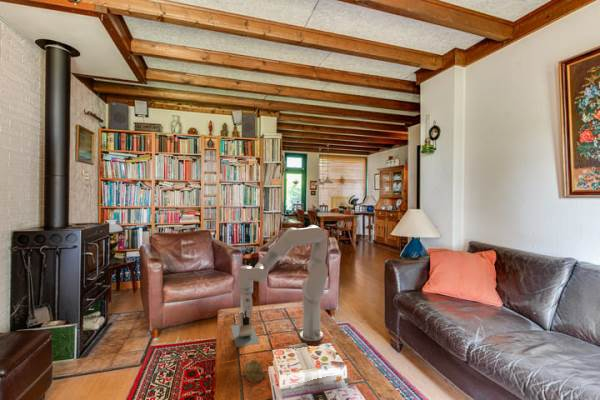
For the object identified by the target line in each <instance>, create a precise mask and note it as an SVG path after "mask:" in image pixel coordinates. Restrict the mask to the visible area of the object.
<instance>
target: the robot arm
mask: <svg viewBox="0 0 600 400" xmlns="http://www.w3.org/2000/svg"><path fill="white" fill-rule="evenodd" d="M305 245H311V250H310V255H309V259H308V263H307V271H308V276H307V277H305V278H304V280H303V281H302V283H301V291H302V292H301V295H302V331H300V332H299V337H300V339H302V340H303V341H307V342H316V341H320V340H322V339H323V337H324V333H323V331H322V330H321V298H323V296H324V292H325V288H326V283H327V280H328V279H327V278H328V275H329V271H328V270H329V269H328V266H327V264H326V259H327V254H328V253H327V252H328V240H327V237H326V234H325V232H324V230H323V228H321V227H319V226H318V225H317V224H316V225H315V224H310V225H308V226H307V227H304V228H296V227H289V228H287V230H285V231H284V233H283V234H281V236H280V237H279V238H278V240H277V241H276V242H275V243H274V244H273V245H272V246H271V247H270V248H269V250H268V251H267V252H266V253H265V254H263V256H262V257H261V258H260V259H259V261H257V263H256V264H255V265H254V267H253V266H252V265H241V266H240V267H239V268H238V294H239V295H240V309H241V311H242V312H243V325H249V311H250V312H251V314H252V313H254V310H253V295H252V294H253V293H254V282H264V281H265V280H267V277H269V276H268V274H269V273H268V272H269V270H270V269H271V268H272V267H273V266H274V265H275V264H277V262H278V261H280V260H283V259H284V258H285V257H286V256H287V255H288V253H289V252H290V251H291V250H292V248H293V247H295V246H296V247H297V246H305Z"/></svg>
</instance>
